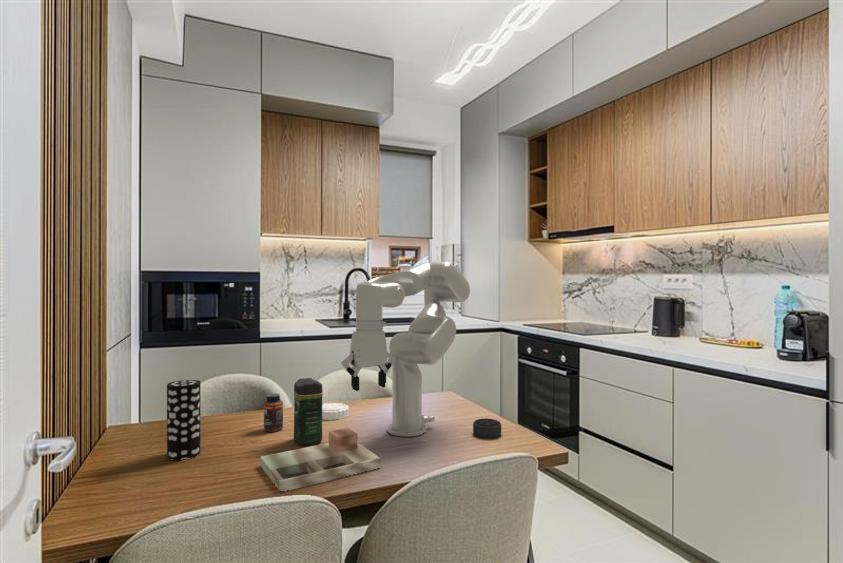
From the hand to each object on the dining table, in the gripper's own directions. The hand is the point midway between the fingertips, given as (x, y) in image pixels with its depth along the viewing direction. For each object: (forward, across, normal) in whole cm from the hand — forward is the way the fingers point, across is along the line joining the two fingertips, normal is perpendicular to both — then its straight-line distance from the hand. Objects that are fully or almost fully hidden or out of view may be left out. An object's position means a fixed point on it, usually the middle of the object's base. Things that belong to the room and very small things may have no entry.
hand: (369, 387), depth 135 cm
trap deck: (+18, +16, +4) cm, 24 cm away
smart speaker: (+18, -38, +7) cm, 43 cm away
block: (+15, +8, 0) cm, 17 cm away
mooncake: (+18, -4, -38) cm, 42 cm away
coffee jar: (+18, +12, -17) cm, 28 cm away
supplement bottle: (+18, +18, -33) cm, 42 cm away
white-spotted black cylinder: (+18, +45, -24) cm, 54 cm away
